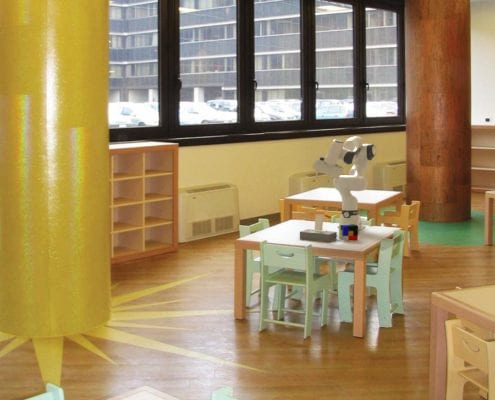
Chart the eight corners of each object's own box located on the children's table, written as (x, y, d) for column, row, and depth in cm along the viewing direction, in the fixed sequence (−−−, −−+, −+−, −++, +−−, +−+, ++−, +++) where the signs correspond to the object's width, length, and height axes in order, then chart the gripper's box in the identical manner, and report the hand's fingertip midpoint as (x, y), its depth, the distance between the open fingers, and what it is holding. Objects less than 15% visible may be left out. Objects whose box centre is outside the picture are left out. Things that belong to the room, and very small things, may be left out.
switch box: (307, 236, 578) (307, 228, 578) (336, 239, 567) (336, 231, 567) (299, 238, 568) (299, 231, 568) (328, 241, 557) (329, 234, 556)
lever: (315, 229, 570) (316, 211, 570) (323, 230, 567) (324, 211, 567) (313, 230, 568) (314, 210, 567) (321, 230, 564) (322, 211, 564)
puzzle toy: (343, 241, 561) (343, 226, 560) (339, 238, 571) (339, 224, 570) (357, 240, 563) (358, 225, 562) (353, 237, 573) (353, 223, 572)
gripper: (344, 167, 586) (336, 185, 587) (317, 156, 589) (309, 174, 590) (343, 167, 579) (335, 185, 581) (316, 156, 582) (309, 174, 584)
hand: (322, 179), depth 585 cm, fingers open, 8 cm apart
